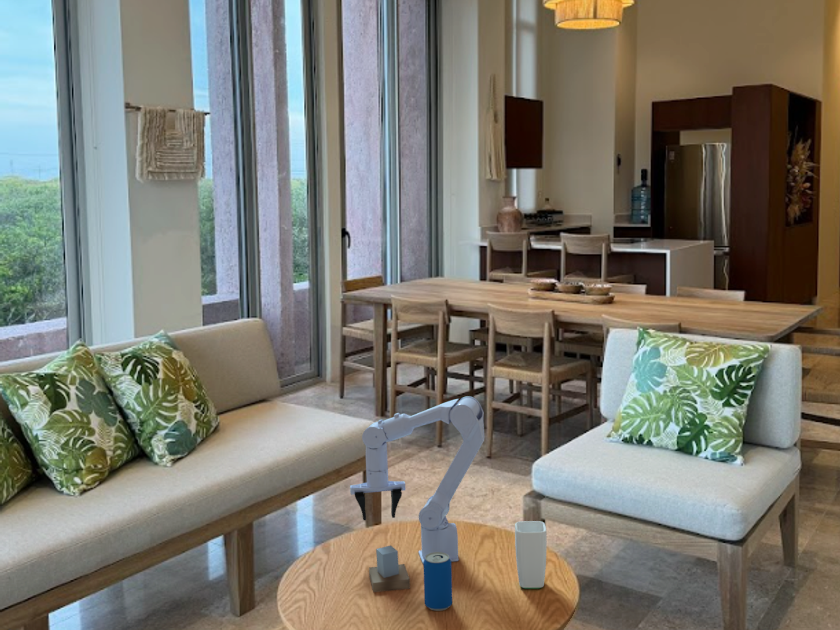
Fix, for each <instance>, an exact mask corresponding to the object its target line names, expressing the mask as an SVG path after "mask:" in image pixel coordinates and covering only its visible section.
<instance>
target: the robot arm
mask: <svg viewBox="0 0 840 630" xmlns="http://www.w3.org/2000/svg"><path fill="white" fill-rule="evenodd" d="M459 399H460V400H459ZM484 414H485V413H484V410H483V407H482V405H481V404H480V402H479V401H478V399H476V398H475V397H473V396H470V395H469V396H468V395H467V396H464V397H461V398H456V399H452V400H448V401H446V402H443V403H441V404H437V405H435V406H433V407H431V408H428V409H425V410H423V411H420V412H418V413H415V414H413V415H410V414H407V413H400V412H397V413H394V414H393V417H390V418H387V419H384V420H383V419H381V418H380V419H379V420H378V421H375V422H372V424H370V425H369V426H368V427H366V428H365V430H363V432H362V435H361V440H362V442H363V444H364V445H365V472H366V482H362V483H357V484H352V485H349V492H350V495H351V496H352V495H354V497H355V500H356V502H357V504H358V505H359V508H360V512H361V514H362V519H363V521H367V515H366V497H365V494H366V493H367V494H368V493H379V492H381V493H382V492H390V498H391V499H390V500H391V506H390V508H391V510H390V511H391V513H390V514H391V518H392V519H393V518H394V519H395V518H396V512H397V508H398V505H399V502H400V500H401V498H402V495H403V492H402V491H406V482H405V481H404V480H403V481H402V480H399V481H397V480H389V467H388V466H389V465H388V462H389V461H388V460H389V459H388V444H387V443H388V442H389V443H390V442H393V441H395V440H399V439H401V438H404V437H407V436H410V435H412V434H413V431H414V429H416V428H419V427H422V426H425V425H429V424H432V423H435V422H439V421H442V422H443V423H445V424H448V425H450V424H451V423H452V425H453V426H454V428H455V429H456V430H457V431H458V432H459V433H460V436H461V439H462V443H461V445H460V446H459V449H458V451H457V452H456V454H455V456H454V458H453V459H452V462H450V465H449V467H448V468H447V470H446V473H444V476H443V477H442V479H441V481H440V483H439V485H438V486H437V488H436V490H435V492H434V494H433V495H432V496H429V498H428V499H427V500H426V503H425V505H424V506H423V507H422V508H421V510H420V511H419V513H418V522H419V524H420V534H421V535H420V537H421V539H420V541H421V550H420V549H419V550H418V555H419V557H420V560H421V563H422V564H423V562H424V560H425V556H426V555H427V554H429V553H433V552H442V553H446V554H448V555H449V559H450V560H451V563H452V562H458V561H459V559H460V558H459V540H458V539H459V536H458V528H457V524H456V523H454V522H449V521H448V518H447V515H448V514H449V511H450V504H451V501H452V499H453V498H454V495H455V493H456V492H457V489H458V488H459V486H460V485H461V483H462V482H463V481H462V480H463V479H464V478H465V475H466V474H467V472H468V470H469V468H470V466H471V465H472V463H473V461H474V459H475V457H476V456H477V454H478V452H479V450H480V449H481V447H482V445H483V443H484V441H485V425H484Z"/></svg>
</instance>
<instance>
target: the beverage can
mask: <svg viewBox="0 0 840 630" xmlns="http://www.w3.org/2000/svg"><path fill="white" fill-rule="evenodd" d="M422 565H423V593H424V595H423V596H424V600H423V601H424V606H426V607H427V608H428V609H429V610H431V611H437V612H439V611H440V612H441V611H445V610H447V609H448V608H450V607H451V606H452V605H453V582H452V581H453V580H452V578H453V573H452V562H451V560H450V559H449V555H448V554H446V553H442V552H433V553H429V554H427V555H426V556H425V560H424V562H423V563H422Z"/></svg>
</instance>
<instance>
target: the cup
mask: <svg viewBox="0 0 840 630" xmlns="http://www.w3.org/2000/svg"><path fill="white" fill-rule="evenodd" d="M514 540H515V541H514V543H515V545H514V546H515V558H516V569H517V570H516V571H517V577H518V583H519V587H521V588H522V589H529V590H531V589H534V590H537V589H541V588H543V587H544V585H545V577H546V569H547V567H546V566H547V527H546V523H545V522H543V521H539V520H536V521H535V520H534V521H533V520H529V521H528V520H526V521H525V520H523V521H522V520H521V521H517V522H515V524H514Z"/></svg>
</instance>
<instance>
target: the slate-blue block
mask: <svg viewBox="0 0 840 630" xmlns="http://www.w3.org/2000/svg"><path fill="white" fill-rule="evenodd" d="M375 550H376V553H375V554H376V567H377V571H378V573H379V574H381V575H382V576H383V577H384V578H385V577H389V576H393V575H397V574H399V567H398V565H399V553H398V550H397V549H396V548H395V547H393V546H392V545H391V544H390V545H386V546H382V547H379V548H376V549H375Z"/></svg>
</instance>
